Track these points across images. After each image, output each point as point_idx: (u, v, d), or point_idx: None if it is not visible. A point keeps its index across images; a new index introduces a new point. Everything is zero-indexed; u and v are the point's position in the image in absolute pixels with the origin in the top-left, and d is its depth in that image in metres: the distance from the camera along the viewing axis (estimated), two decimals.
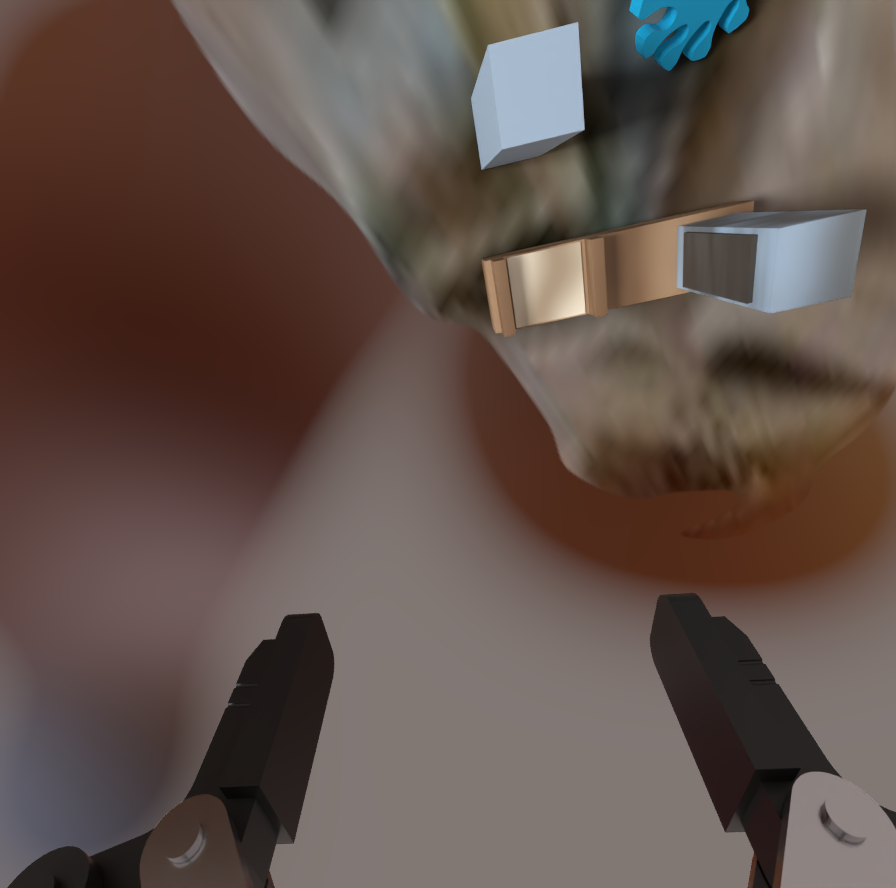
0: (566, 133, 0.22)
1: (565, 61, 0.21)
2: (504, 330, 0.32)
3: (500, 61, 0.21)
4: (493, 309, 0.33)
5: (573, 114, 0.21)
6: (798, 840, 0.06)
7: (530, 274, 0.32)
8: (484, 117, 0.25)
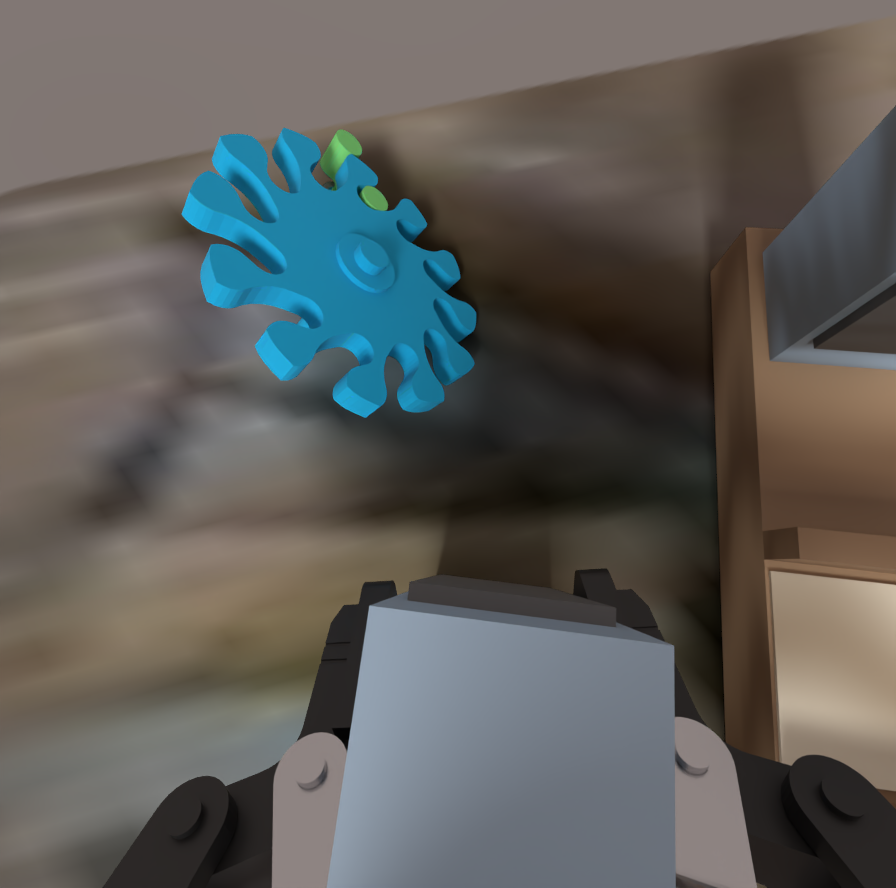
0: (670, 717, 0.06)
1: (455, 671, 0.06)
2: None
3: None
4: None
5: (617, 678, 0.06)
6: None
7: (832, 716, 0.12)
8: None
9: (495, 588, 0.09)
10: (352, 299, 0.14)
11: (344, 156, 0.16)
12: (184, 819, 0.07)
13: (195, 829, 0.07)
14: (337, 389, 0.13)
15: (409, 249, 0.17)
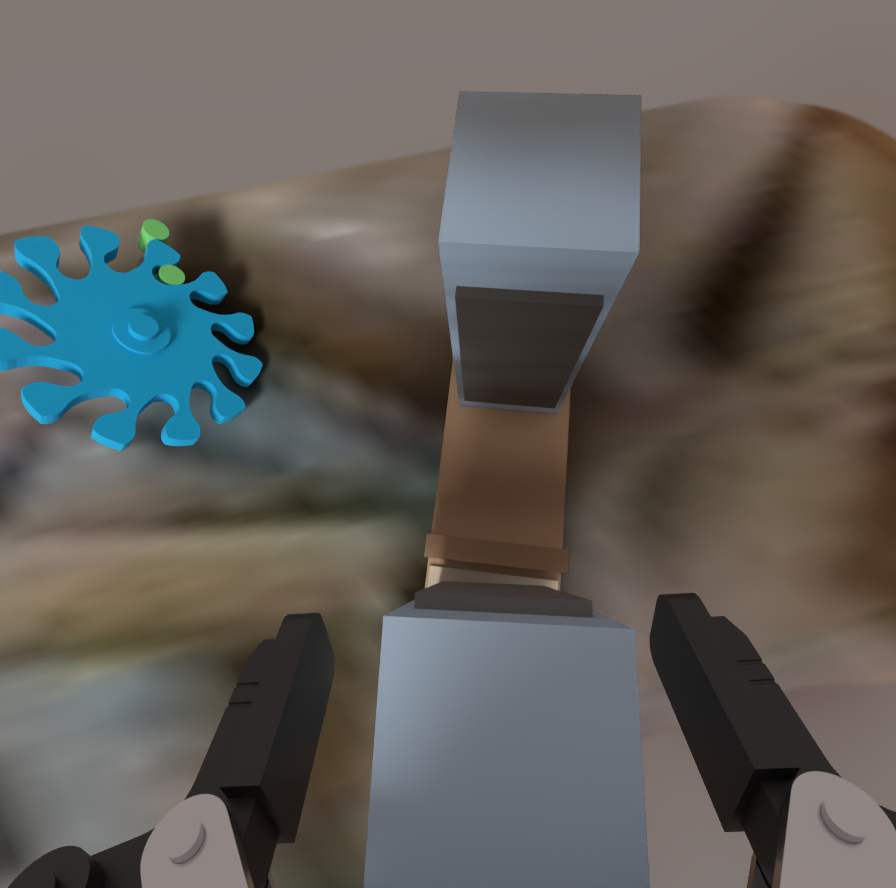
0: (635, 688, 0.07)
1: (458, 664, 0.07)
2: None
3: (410, 882, 0.07)
4: None
5: (590, 659, 0.07)
6: (797, 840, 0.06)
7: None
8: None
9: (490, 591, 0.10)
10: (119, 361, 0.18)
11: (150, 240, 0.21)
12: None
13: None
14: (92, 430, 0.17)
15: (198, 315, 0.21)
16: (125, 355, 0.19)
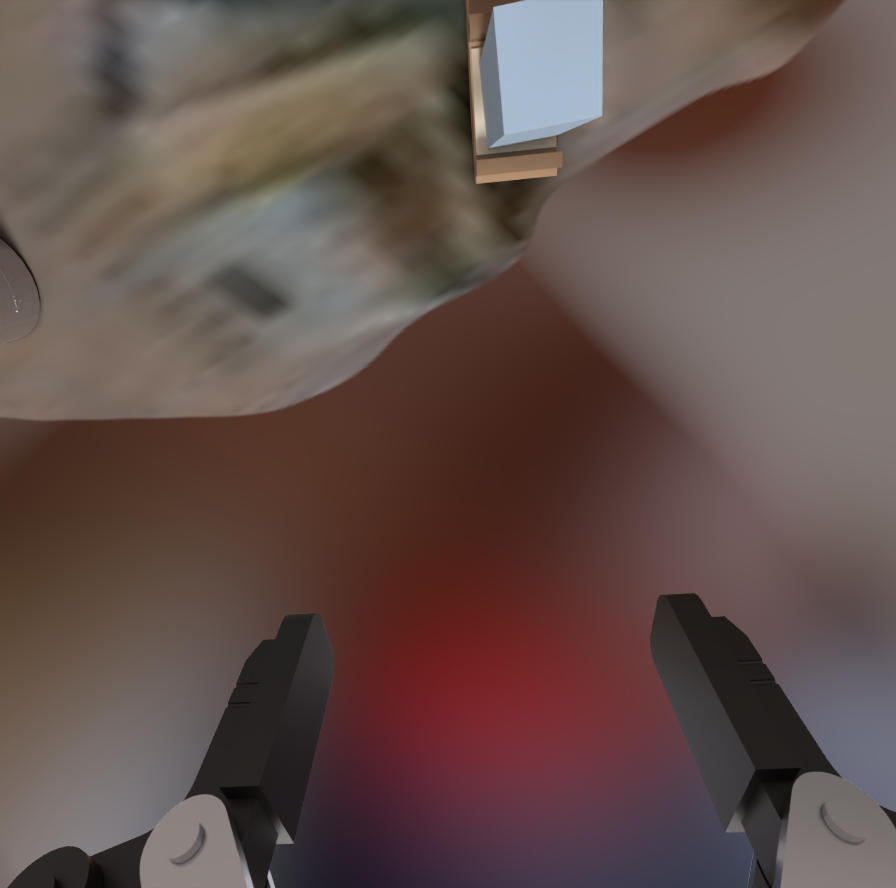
0: (601, 14, 0.17)
1: (528, 23, 0.17)
2: (554, 166, 0.27)
3: (519, 118, 0.19)
4: (528, 176, 0.28)
5: (583, 4, 0.17)
6: (798, 840, 0.06)
7: None
8: (533, 135, 0.23)
9: None
10: None
11: None
12: None
13: None
14: None
15: None
16: None
